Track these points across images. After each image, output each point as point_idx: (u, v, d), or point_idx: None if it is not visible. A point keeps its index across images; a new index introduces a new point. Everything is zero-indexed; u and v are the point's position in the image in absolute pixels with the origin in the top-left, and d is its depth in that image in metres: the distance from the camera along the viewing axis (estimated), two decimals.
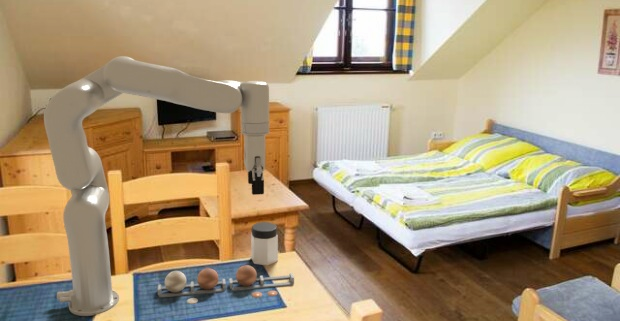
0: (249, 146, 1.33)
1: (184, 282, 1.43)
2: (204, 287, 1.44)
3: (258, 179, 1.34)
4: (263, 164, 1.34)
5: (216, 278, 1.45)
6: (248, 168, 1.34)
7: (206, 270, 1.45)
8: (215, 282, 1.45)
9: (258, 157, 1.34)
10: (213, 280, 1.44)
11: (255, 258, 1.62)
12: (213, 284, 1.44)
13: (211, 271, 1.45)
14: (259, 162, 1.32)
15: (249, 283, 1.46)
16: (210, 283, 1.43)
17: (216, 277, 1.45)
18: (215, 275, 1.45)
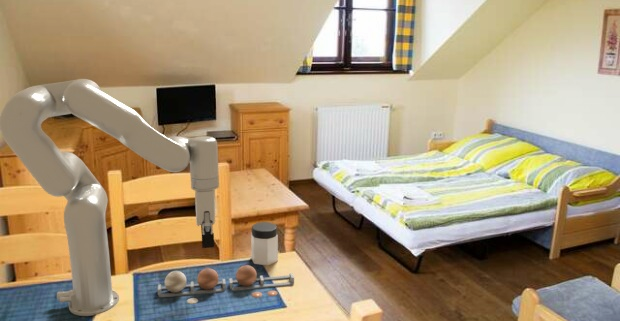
0: (198, 201, 1.35)
1: (184, 282, 1.43)
2: (204, 287, 1.44)
3: (207, 233, 1.36)
4: (212, 218, 1.37)
5: (216, 278, 1.45)
6: (197, 223, 1.36)
7: (206, 270, 1.45)
8: (215, 282, 1.45)
9: (207, 212, 1.36)
10: (213, 280, 1.44)
11: (255, 258, 1.62)
12: (213, 284, 1.44)
13: (211, 271, 1.45)
14: (208, 217, 1.34)
15: (249, 283, 1.46)
16: (210, 283, 1.43)
17: (216, 277, 1.45)
18: (215, 275, 1.45)
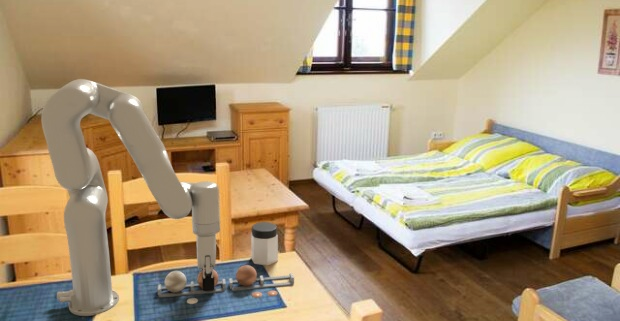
0: (199, 246, 1.38)
1: (184, 282, 1.43)
2: None
3: (208, 277, 1.41)
4: (213, 262, 1.40)
5: (216, 278, 1.45)
6: (198, 266, 1.39)
7: None
8: (215, 282, 1.45)
9: (208, 257, 1.39)
10: None
11: (255, 258, 1.62)
12: None
13: None
14: (208, 264, 1.38)
15: (249, 283, 1.46)
16: None
17: (216, 277, 1.45)
18: (215, 275, 1.45)
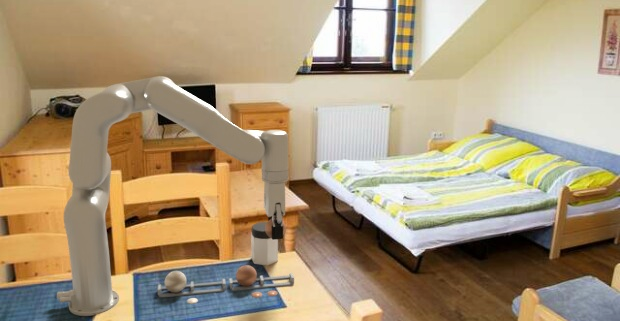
0: (270, 193, 1.39)
1: (184, 282, 1.43)
2: None
3: (278, 225, 1.42)
4: (283, 210, 1.41)
5: (284, 227, 1.46)
6: (269, 214, 1.40)
7: None
8: (283, 231, 1.45)
9: (278, 205, 1.40)
10: None
11: (255, 258, 1.62)
12: None
13: None
14: (279, 211, 1.39)
15: (249, 283, 1.46)
16: None
17: (284, 226, 1.46)
18: (283, 224, 1.46)
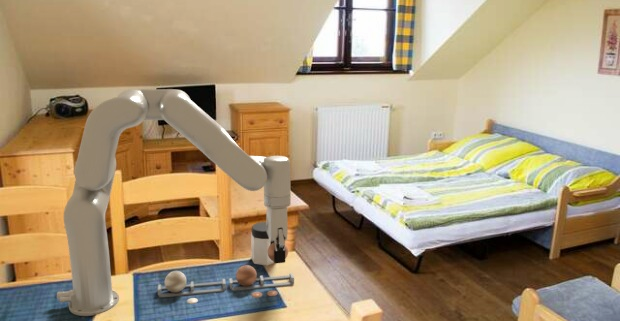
0: (272, 218, 1.41)
1: (184, 282, 1.43)
2: None
3: (280, 250, 1.44)
4: (285, 234, 1.43)
5: (286, 251, 1.48)
6: (271, 239, 1.42)
7: None
8: (285, 255, 1.47)
9: (281, 230, 1.42)
10: None
11: (255, 258, 1.62)
12: None
13: None
14: (282, 236, 1.41)
15: (249, 283, 1.46)
16: None
17: (286, 250, 1.48)
18: (285, 248, 1.48)
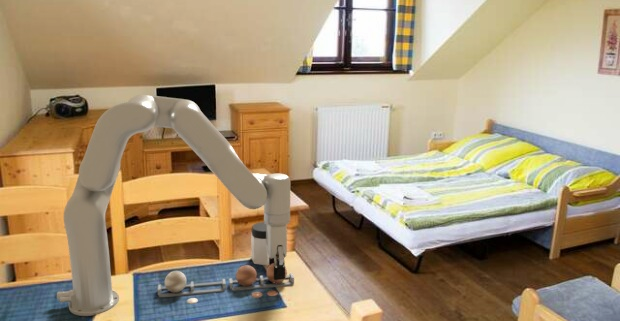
0: (272, 236, 1.42)
1: (184, 282, 1.43)
2: (274, 281, 1.48)
3: (280, 266, 1.44)
4: (285, 252, 1.44)
5: (285, 272, 1.49)
6: (271, 256, 1.43)
7: None
8: None
9: (280, 246, 1.43)
10: None
11: (255, 258, 1.62)
12: None
13: None
14: (281, 252, 1.42)
15: (249, 283, 1.46)
16: None
17: (285, 271, 1.49)
18: None
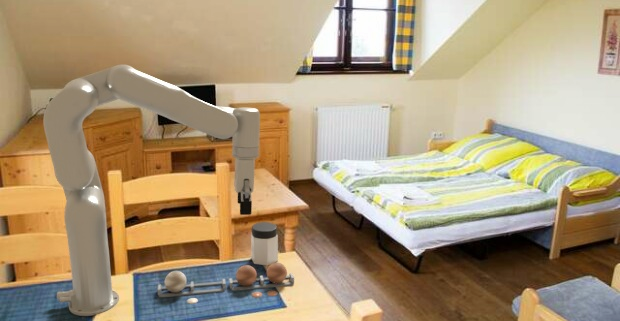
0: (239, 169, 1.40)
1: (184, 282, 1.43)
2: (274, 281, 1.48)
3: (246, 200, 1.41)
4: (251, 186, 1.42)
5: (285, 272, 1.49)
6: (237, 189, 1.42)
7: (275, 264, 1.49)
8: (284, 276, 1.49)
9: (247, 180, 1.41)
10: (283, 274, 1.48)
11: (255, 258, 1.62)
12: (282, 278, 1.49)
13: (280, 265, 1.49)
14: (247, 184, 1.40)
15: (249, 283, 1.46)
16: (280, 277, 1.48)
17: (285, 271, 1.49)
18: (284, 269, 1.49)
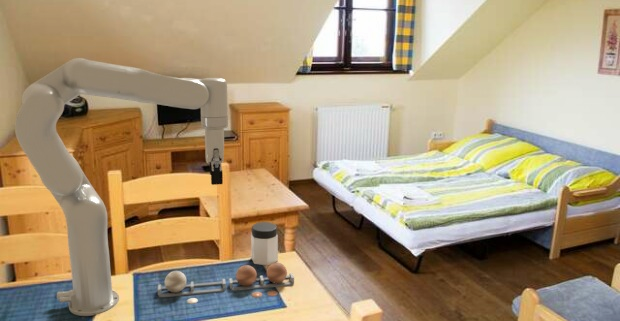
0: (208, 139, 1.41)
1: (184, 282, 1.43)
2: (274, 281, 1.48)
3: (216, 170, 1.42)
4: (221, 156, 1.43)
5: (285, 272, 1.49)
6: (207, 159, 1.43)
7: (275, 264, 1.49)
8: (284, 276, 1.49)
9: (216, 149, 1.42)
10: (283, 274, 1.48)
11: (255, 258, 1.62)
12: (282, 278, 1.49)
13: (280, 265, 1.49)
14: (217, 154, 1.41)
15: (249, 283, 1.46)
16: (280, 277, 1.48)
17: (285, 271, 1.49)
18: (284, 269, 1.49)
